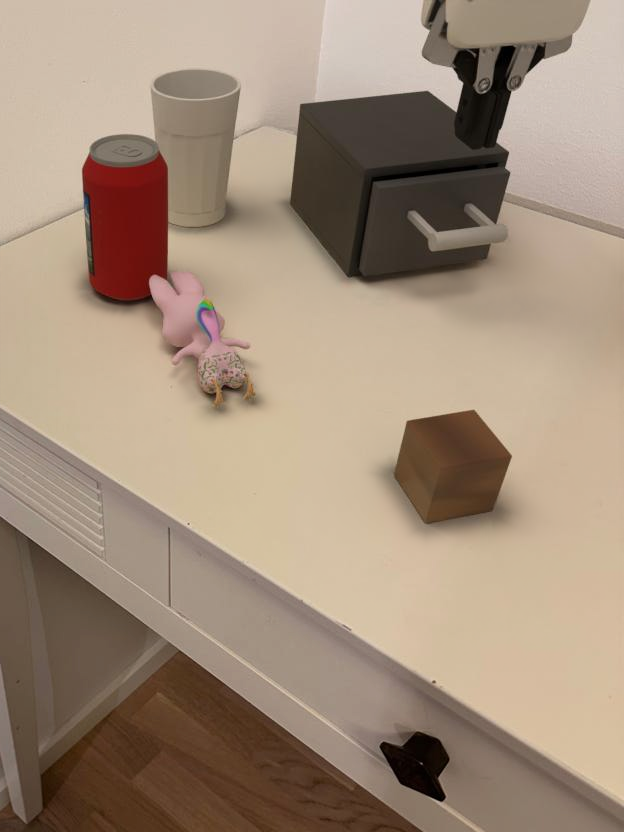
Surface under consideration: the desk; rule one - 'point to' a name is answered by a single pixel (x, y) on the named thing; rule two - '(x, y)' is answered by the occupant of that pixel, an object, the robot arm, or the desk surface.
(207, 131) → the cup
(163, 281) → the rabbit figure
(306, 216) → the cabinet
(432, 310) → the desk surface
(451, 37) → the robot arm
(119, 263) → the beverage can
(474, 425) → the block
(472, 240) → the drawer
